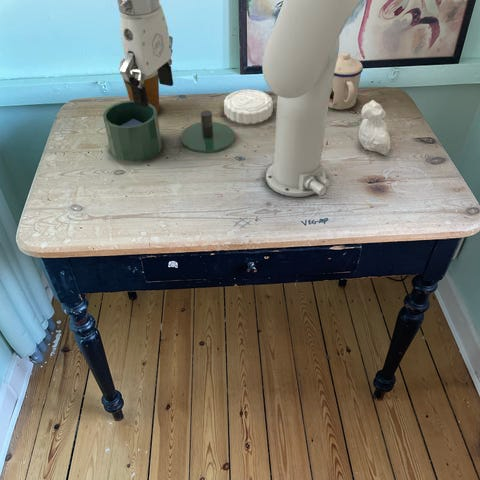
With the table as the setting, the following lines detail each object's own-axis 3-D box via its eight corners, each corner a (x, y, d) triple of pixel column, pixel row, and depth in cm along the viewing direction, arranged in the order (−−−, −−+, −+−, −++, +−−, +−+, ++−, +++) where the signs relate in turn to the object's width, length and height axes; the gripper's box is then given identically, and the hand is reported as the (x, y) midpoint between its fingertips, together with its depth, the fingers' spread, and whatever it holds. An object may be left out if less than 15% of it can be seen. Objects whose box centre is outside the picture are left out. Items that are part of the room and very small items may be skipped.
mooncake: (255, 96, 127) (255, 82, 124) (281, 116, 121) (282, 102, 118) (215, 109, 123) (214, 95, 120) (240, 130, 117) (240, 116, 114)
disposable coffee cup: (119, 114, 122) (109, 64, 113) (145, 98, 127) (137, 49, 117) (148, 125, 118) (140, 75, 109) (173, 109, 123) (167, 59, 114)
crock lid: (245, 142, 113) (245, 115, 108) (201, 161, 109) (198, 133, 104) (214, 120, 120) (212, 93, 114) (171, 137, 115) (167, 110, 110)
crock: (171, 151, 111) (166, 116, 105) (126, 169, 107) (119, 133, 100) (145, 130, 117) (139, 95, 111) (102, 146, 113) (93, 111, 106)
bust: (361, 140, 118) (338, 107, 110) (389, 120, 114) (368, 84, 107) (376, 169, 110) (353, 135, 103) (407, 148, 107) (386, 112, 99)
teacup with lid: (316, 94, 127) (321, 47, 118) (349, 91, 128) (357, 43, 119) (330, 118, 120) (337, 69, 111) (365, 114, 121) (375, 65, 112)
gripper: (129, 22, 84) (147, 117, 97) (180, -11, 94) (190, 80, 107) (93, 16, 86) (116, 110, 99) (147, -15, 96) (161, 74, 109)
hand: (154, 94), depth 103 cm, fingers open, 9 cm apart
